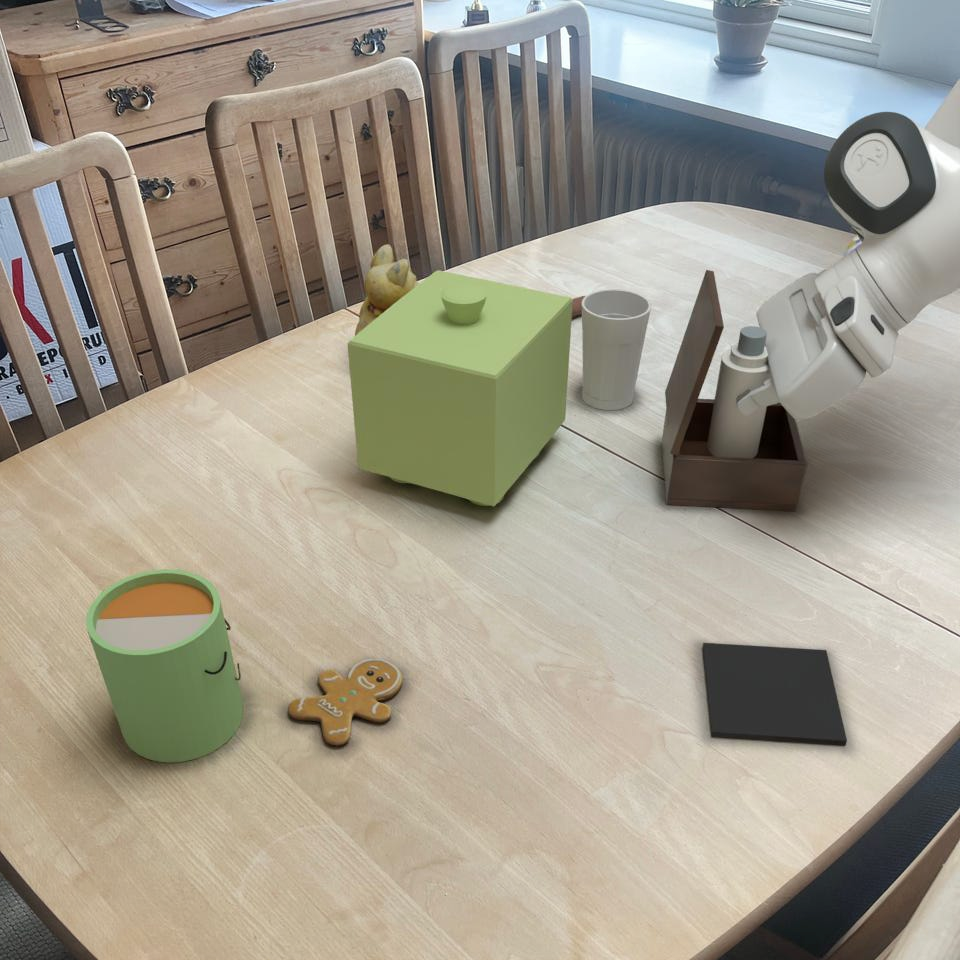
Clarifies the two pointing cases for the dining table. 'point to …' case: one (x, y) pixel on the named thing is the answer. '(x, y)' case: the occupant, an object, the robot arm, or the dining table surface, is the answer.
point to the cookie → (350, 698)
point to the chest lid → (693, 361)
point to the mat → (772, 694)
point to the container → (460, 384)
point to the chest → (736, 466)
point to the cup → (612, 346)
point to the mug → (167, 664)
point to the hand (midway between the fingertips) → (736, 392)
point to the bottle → (737, 375)
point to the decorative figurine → (384, 285)
